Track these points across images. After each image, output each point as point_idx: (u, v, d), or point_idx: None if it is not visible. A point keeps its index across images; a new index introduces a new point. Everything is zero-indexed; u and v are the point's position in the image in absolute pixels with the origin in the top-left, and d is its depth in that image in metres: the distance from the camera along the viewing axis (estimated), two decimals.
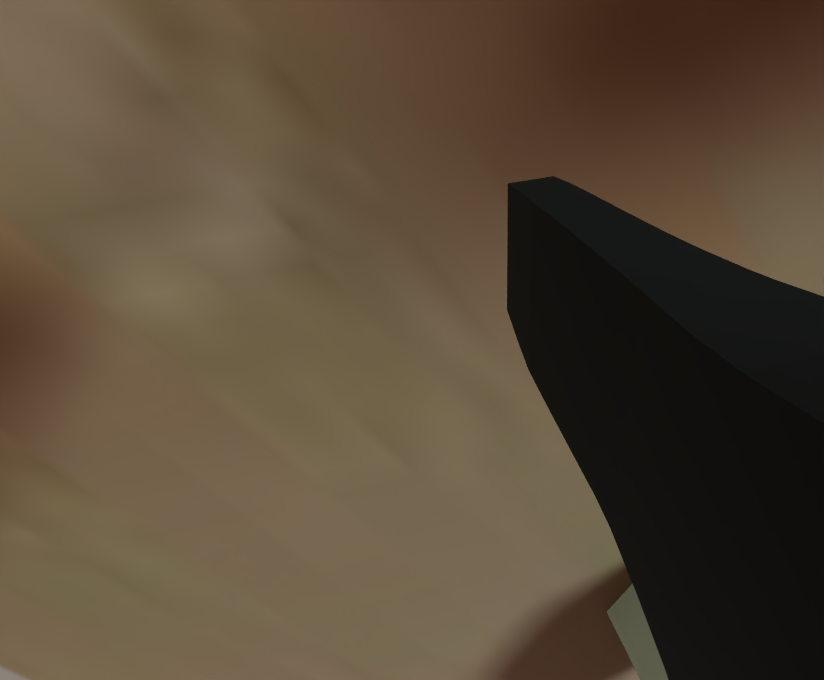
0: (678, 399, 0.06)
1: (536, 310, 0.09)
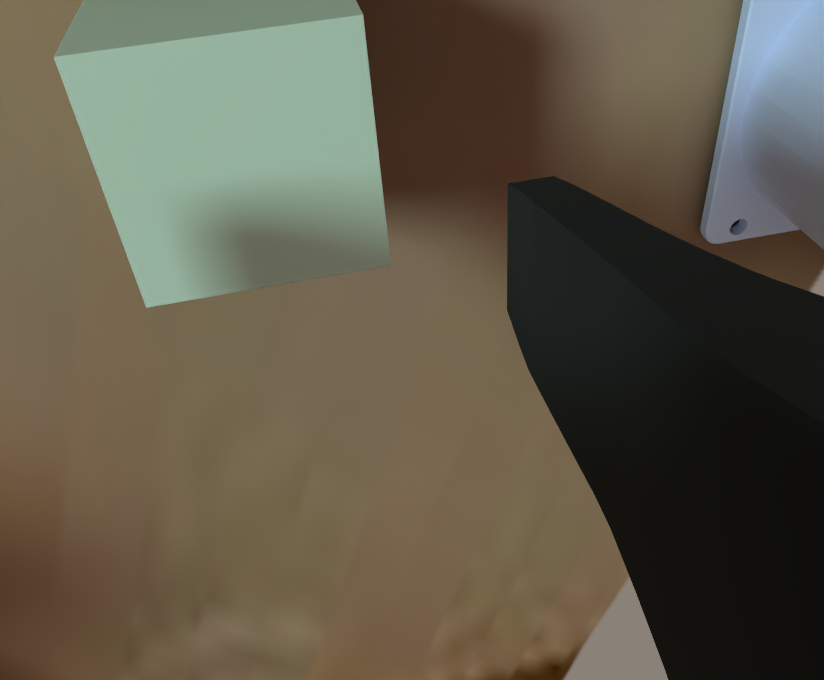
0: (678, 399, 0.06)
1: (536, 310, 0.09)
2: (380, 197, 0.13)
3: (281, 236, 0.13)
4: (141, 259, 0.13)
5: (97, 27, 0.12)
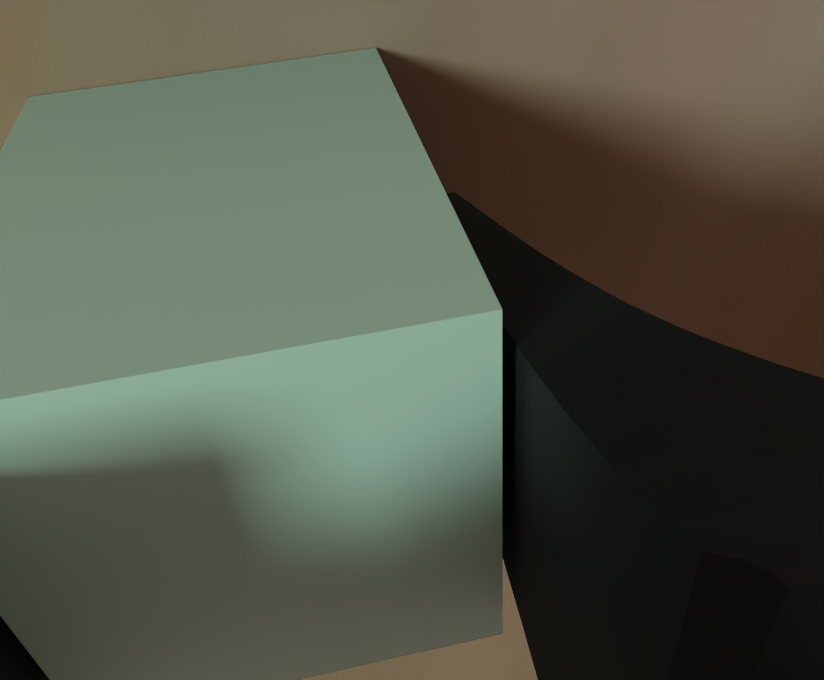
0: (528, 428, 0.06)
1: None
2: (497, 558, 0.07)
3: (321, 620, 0.08)
4: (72, 675, 0.07)
5: None
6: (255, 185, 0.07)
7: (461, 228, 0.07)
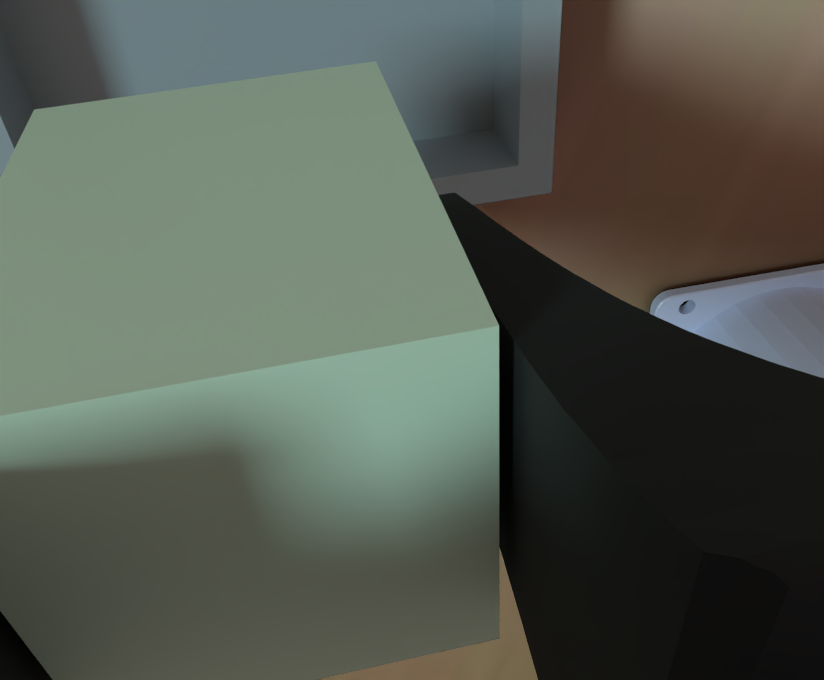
0: (528, 429, 0.06)
1: None
2: (494, 565, 0.08)
3: (321, 626, 0.08)
4: (78, 679, 0.08)
5: None
6: (259, 200, 0.08)
7: (459, 244, 0.07)
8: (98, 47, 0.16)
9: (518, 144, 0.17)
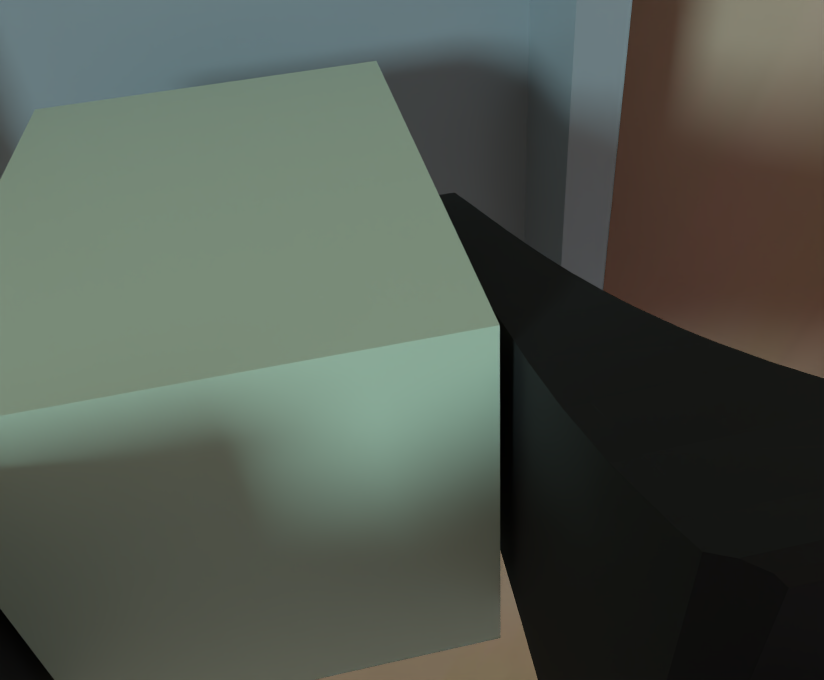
0: (528, 429, 0.06)
1: None
2: (495, 564, 0.08)
3: (323, 626, 0.08)
4: (79, 679, 0.08)
5: None
6: (259, 200, 0.08)
7: (460, 243, 0.07)
8: None
9: None
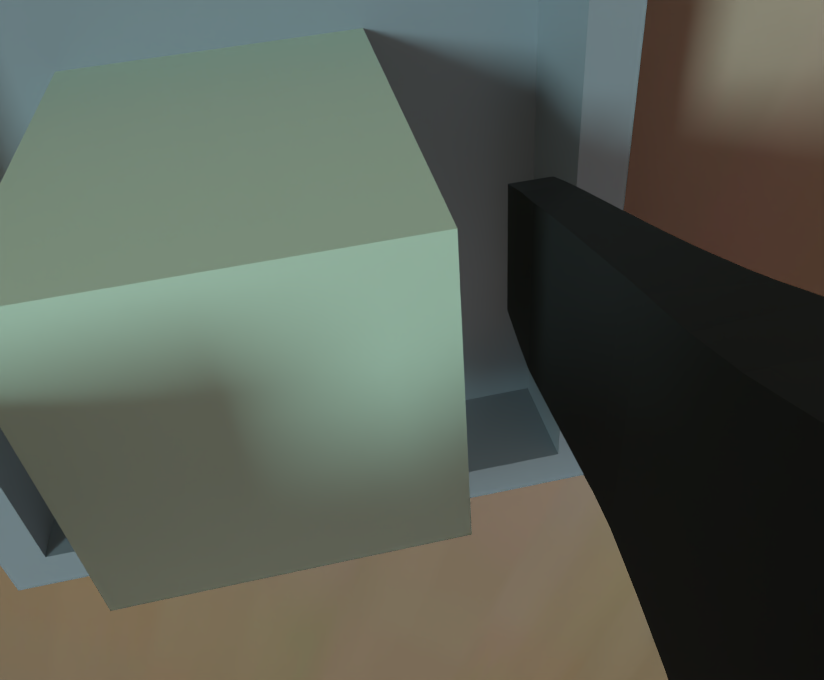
0: (678, 399, 0.06)
1: (536, 310, 0.09)
2: (463, 459, 0.09)
3: (312, 515, 0.09)
4: (100, 558, 0.09)
5: (21, 235, 0.07)
6: (256, 140, 0.09)
7: (428, 169, 0.08)
8: None
9: (559, 435, 0.15)
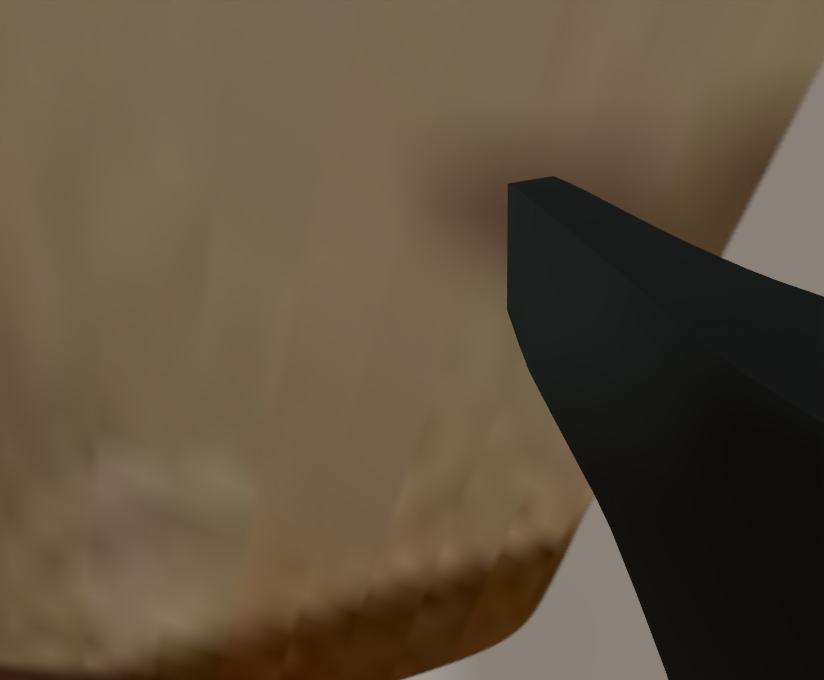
0: (678, 399, 0.06)
1: (536, 310, 0.09)
2: None
3: None
4: None
5: None
6: None
7: None
8: None
9: None
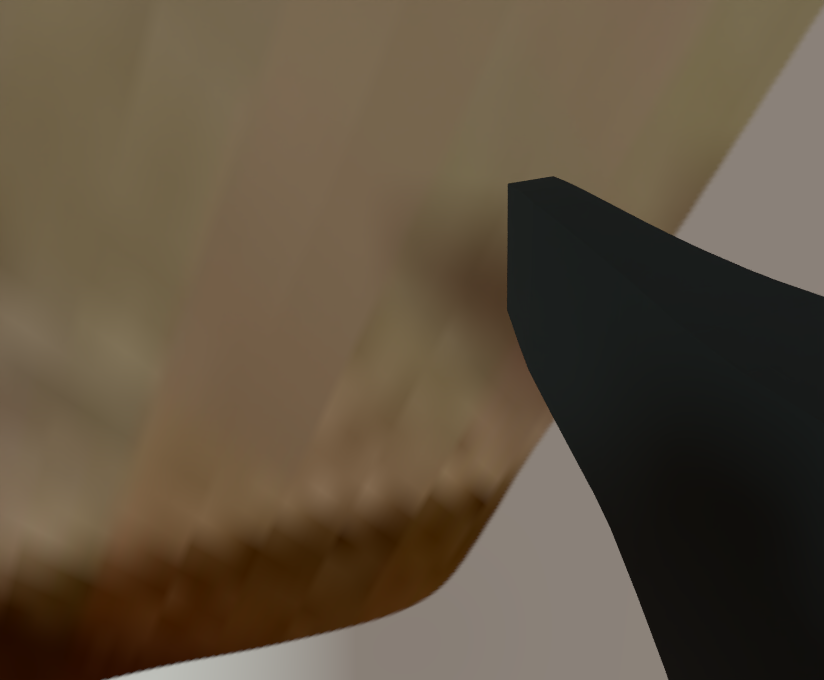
0: (678, 399, 0.06)
1: (536, 310, 0.09)
2: None
3: None
4: None
5: None
6: None
7: None
8: None
9: None
